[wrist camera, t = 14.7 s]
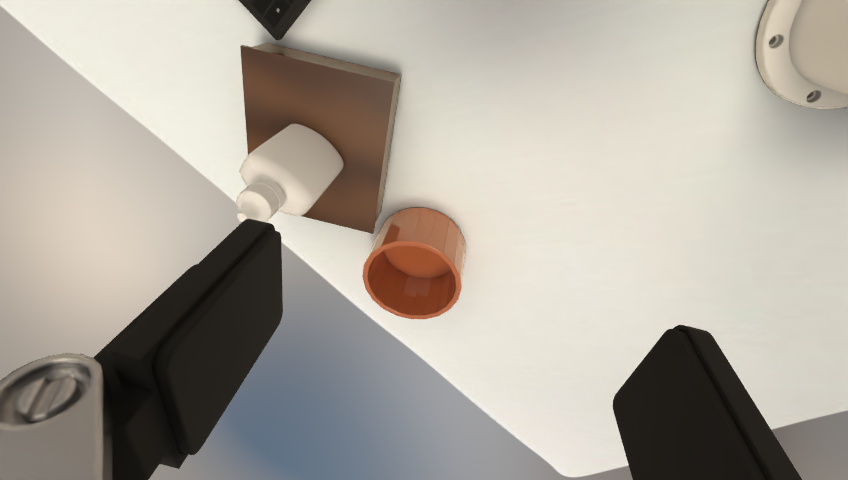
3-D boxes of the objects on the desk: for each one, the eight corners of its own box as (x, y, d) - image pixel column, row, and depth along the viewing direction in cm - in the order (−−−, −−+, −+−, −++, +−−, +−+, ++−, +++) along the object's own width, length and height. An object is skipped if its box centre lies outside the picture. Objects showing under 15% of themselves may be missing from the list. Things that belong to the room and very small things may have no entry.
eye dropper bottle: (310, 185, 36) (241, 260, 26) (278, 128, 34) (188, 188, 24) (350, 172, 35) (293, 246, 25) (320, 111, 32) (243, 168, 22)
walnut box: (265, 39, 34) (240, 45, 30) (404, 72, 34) (394, 82, 30) (270, 186, 42) (251, 203, 39) (382, 214, 42) (373, 233, 38)
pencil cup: (385, 197, 40) (368, 230, 35) (475, 219, 40) (472, 255, 35) (374, 268, 46) (358, 306, 40) (453, 288, 46) (448, 328, 40)
